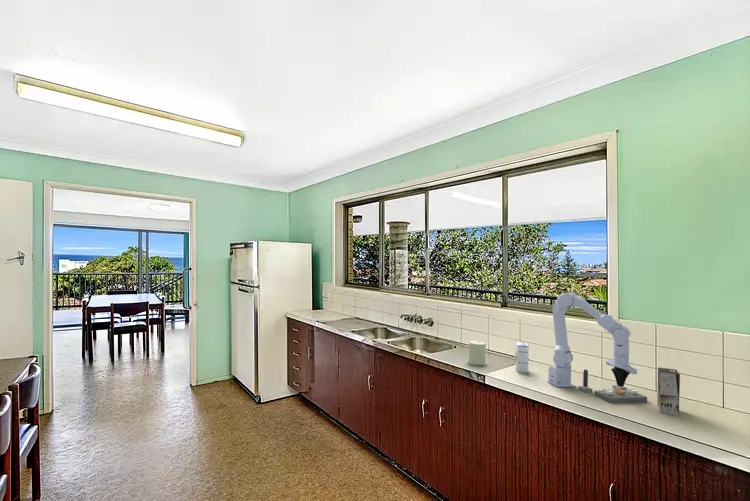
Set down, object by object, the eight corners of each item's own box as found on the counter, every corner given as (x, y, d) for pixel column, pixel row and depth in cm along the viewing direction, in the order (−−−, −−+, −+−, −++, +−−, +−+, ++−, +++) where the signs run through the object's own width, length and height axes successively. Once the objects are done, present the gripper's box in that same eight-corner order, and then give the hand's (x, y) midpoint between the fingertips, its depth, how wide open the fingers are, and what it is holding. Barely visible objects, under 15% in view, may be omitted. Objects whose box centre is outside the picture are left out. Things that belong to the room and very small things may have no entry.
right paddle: (632, 394, 164) (633, 390, 164) (626, 391, 167) (626, 387, 167) (637, 393, 164) (637, 390, 164) (631, 391, 167) (631, 387, 167)
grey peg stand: (584, 392, 170) (585, 370, 170) (578, 389, 174) (578, 368, 174) (592, 392, 171) (592, 370, 171) (586, 389, 175) (586, 368, 175)
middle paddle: (620, 394, 163) (620, 390, 163) (614, 391, 166) (615, 388, 166) (625, 394, 163) (625, 390, 163) (619, 391, 166) (619, 388, 166)
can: (487, 362, 215) (487, 341, 215) (482, 366, 207) (483, 344, 208) (471, 359, 220) (472, 339, 220) (466, 363, 212) (466, 341, 212)
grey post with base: (619, 391, 173) (619, 370, 174) (612, 388, 177) (612, 367, 177) (627, 391, 174) (627, 370, 174) (620, 388, 178) (620, 367, 178)
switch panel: (610, 403, 158) (610, 398, 158) (594, 395, 167) (594, 390, 167) (647, 401, 161) (647, 396, 161) (629, 394, 170) (629, 389, 170)
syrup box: (528, 373, 198) (529, 345, 198) (516, 371, 199) (517, 344, 199) (526, 369, 203) (527, 342, 203) (515, 368, 204) (515, 342, 205)
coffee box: (679, 416, 146) (680, 374, 147) (659, 412, 150) (659, 371, 150) (676, 409, 154) (677, 369, 154) (656, 405, 158) (657, 366, 158)
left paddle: (608, 394, 162) (608, 391, 162) (602, 392, 165) (603, 388, 165) (613, 394, 162) (613, 390, 162) (607, 392, 165) (607, 388, 165)
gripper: (643, 358, 158) (642, 391, 158) (615, 350, 172) (615, 380, 172) (628, 359, 157) (628, 391, 157) (602, 350, 171) (601, 380, 171)
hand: (620, 385), depth 164 cm, fingers closed
